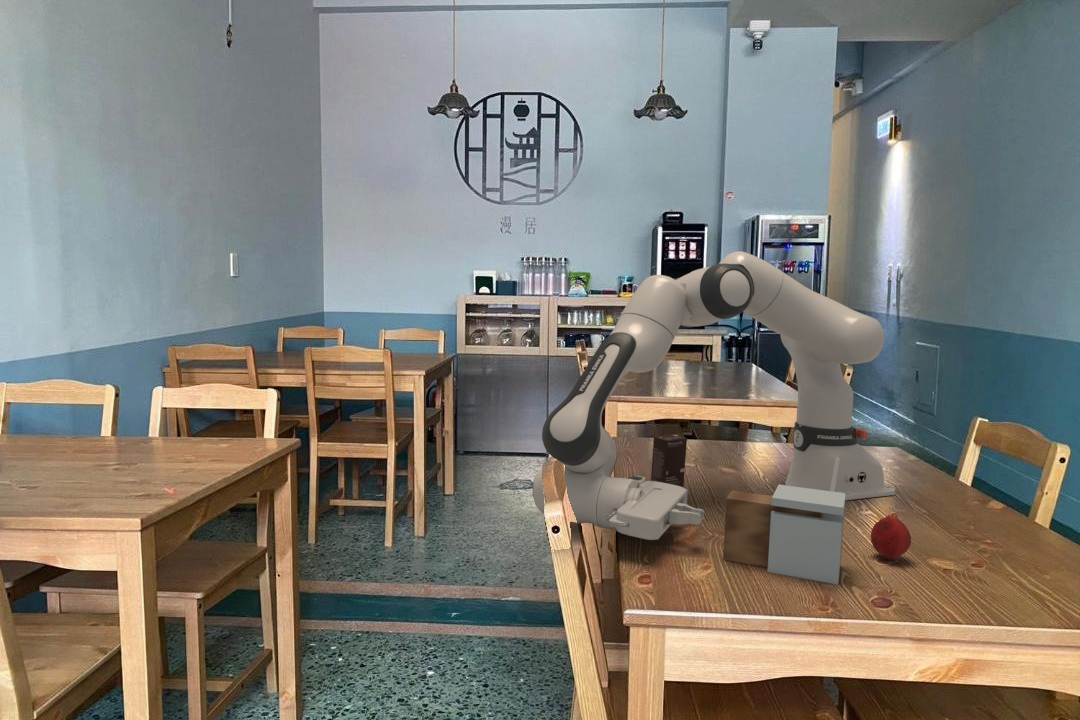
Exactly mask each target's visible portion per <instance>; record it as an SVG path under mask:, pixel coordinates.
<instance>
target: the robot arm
mask: <svg viewBox="0 0 1080 720" xmlns="http://www.w3.org/2000/svg"><path fill="white" fill-rule="evenodd" d="M742 313H745V314H746V315H748V316H750V317H751V318H752V319H754V320H756V321H757V322H758V323H761V324H762V325H763V326H765V327H767V328H768V329H770V330H771V331H773V332H774V333H775V334H776V333H777V334H779V335H780V340H781V342H782V344H783V347H784V348H785V349H786V350H787V351H788V354H789V356H790V357H791V360H792V364H793V368H794V371H795V375H796V382H797V410H796V411H797V415H796V417H797V418H796V421H795V422H794V425H793V426H794V429H793V447H794V448H793V454H792V458H791V464H790V467H789V471H788V474H787V477H786V480H785V483H784V485H786V486H794V487H801V488H809V489H816V490H824V491H832V492H839V493H846V496H845V501H850V500H860V499H861V500H862V499H867V498H870V499H871V498H876V497H877V498H878V497H887V496H895V495H896V490H895V488H894V487H893V486H892V485H890V484H888V483H886V482H885V477H884V469H883V466H882V464H881V462H880V461H879V460H878V459H877V458H876V457H874V456H873V455H872V454H871V453H869V452H868V451H867V450H865V449H864V448H863V446H861V445H860V444H859V442H858V439H861V440H867V438H869V431H867V430H865V429H862V428H857V429H856V428H855V427H854V426H853V425H852V421H853V418H852V417H853V409H854V407H853V406H854V405H853V403H854V391H853V388H852V386H851V385H850V384H849V382H848V381H847V380H846V378H845V376H844V374H843V372H842V368H841V364H842V365H858V364H859V365H860V364H865V363H869V362H872V361H873V360H876V358H877V357H878V356H879V355H880V353H882V352H881V351H882V349H883V347H884V344H885V332H884V328H883V326H882V323H880V322H879V321H878V320H877V318H874V317H872V316H869V315H867V314H864V313H861V312H858V311H857V310H854V309H852V308H850V307H848V306H846V305H844V304H842V303H840V302H838V301H836V300H834V299H832V298H829V297H828V296H826V295H823V294H821V293H818V292H817V291H814V290H812V289H810V288H808V287H807V286H805V285H803V284H801V282H798V280H795V279H794V278H793V277H792V276H790V275H788V274H786V272H783V271H782V270H781V269H779V268H777V267H776V266H775V265H773V264H772V263H770V262H769V261H766V260H764V259H762V258H760V257H758V256H756V255H754V254H751V253H749V252H746V251H740V250H739V251H733V252H731V253H729V254H727V255H726V256H724V257H723V258H722V259H721V260H720V261H719V263H716V264H713V265H711V266H707V267H702V268H698V269H695V270H692V271H691V272H689V273H686V274H685V275H682V276H681V277H677V278H672V277H671V276H667V275H663V274H652V275H650V276H648V277H646V278H645V279H644V280H642V282H641V283H640V285H639V286H638V287H637V289H636V290H635V291H634V292H633V294H632V296H631V297H630V298H629V300H628V301H627V303H626V305H625V306H624V309H623V310H622V313H621V315H620V316H619V318H618V321H616V324H615V326H614V327H613V329H612V331H611V333H610V334H609V335H608V336H607V337H606V338H605V339H604V340H603V341H602V342H601V344H600V345H599V346H598V347H597V349H596V350H595V352H594V353H593V354H594V355H592V357H591V359H590V360H589V362H588V364H587V365H586V367H585V368H584V370H583V372H582V373H581V375H580V376H579V378H578V380H577V382H576V383H575V385H574V386H573V388H572V390H571V391H570V392H569V394H568V395H567V396H566V397H565V399H564V400H563V401H562V402H561V403H560V404H559V405H557V407H555V408H554V409H553V410H552V411H551V412H550V414H549V415H548V416H547V418H546V419H545V422H544V423H543V427H542V430H541V438H542V439H541V440H542V443H543V446H544V448H545V449H544V450H545V451H546V452H547V453H548V455H550V456H551V457H552V458H553V459H554V458H555V459H557V460H558V461H560V462H561V463H563V464H564V465H565V481H566V486H567V494H568V498H569V501H570V504H571V507H572V510H573V512H574V515H575V517H576V520H577V523H576V524H577V525H578V524H591V525H593V526H595V527H597V528H601V529H607V530H613V531H616V532H618V533H620V534H623V535H626V536H630V537H633V538H636V539H637V538H638V539H641V540H648V541H655V540H659V539H660V538H661V537H662V535H663V534H664V533H665V532H666V531H667V530H668V529H669V527H670V526H672V525H686V524H687V525H688V524H689V525H696V526H698V525H700V524H701V522H702V521H703V520H704V518H705V511H704V510H703V509H701V508H695V507H693V506H690V505H689V504H688V495H689V494H688V489H686V488H685V487H684V486H683V487H680V486H677V485H672V484H667V483H662V482H657V481H651V480H647V481H646V477H645V476H641V475H634V476H629V477H614V476H612V474H613V471H614V469H615V466H616V463H617V460H618V448H617V445H616V442H615V440H614V439H613V437H612V436H611V435H610V433H609V432H608V431H607V430H606V429H605V428H604V426H603V425H602V415H603V410H604V409H605V407H606V406H607V403H608V402H609V401H610V398H611V397H612V395H613V394H614V391H615V390H616V388H617V387H618V384H619V383H620V381H621V380H622V378H623V377H624V376H625V375H626V374H627V373H629V372H631V373H636V374H638V373H639V374H641V373H648V372H651V371H653V370H655V369H657V368H658V367H659V366H660V364H661V363H662V362H663V360H664V359H665V358H666V356H667V354H668V352H669V351H670V349H671V347H672V344H673V342H674V340H675V337H676V335H677V333H678V331H679V328H681V329H692V328H694V327H703V326H710V325H712V324H715V323H718V322H720V321H721V322H722V321H725V320H730V319H732V318H734V317H737V316H739V315H740V314H742ZM542 470H543V469H541V470H539V471H538V472H537V473H536V474H535V476H534V479H533V482H532V496H533V502H534V504H535V507H536V508H537V509H538V511H539V512H540V513H541V514H543V515H544V494H543V486H542Z"/></svg>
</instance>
